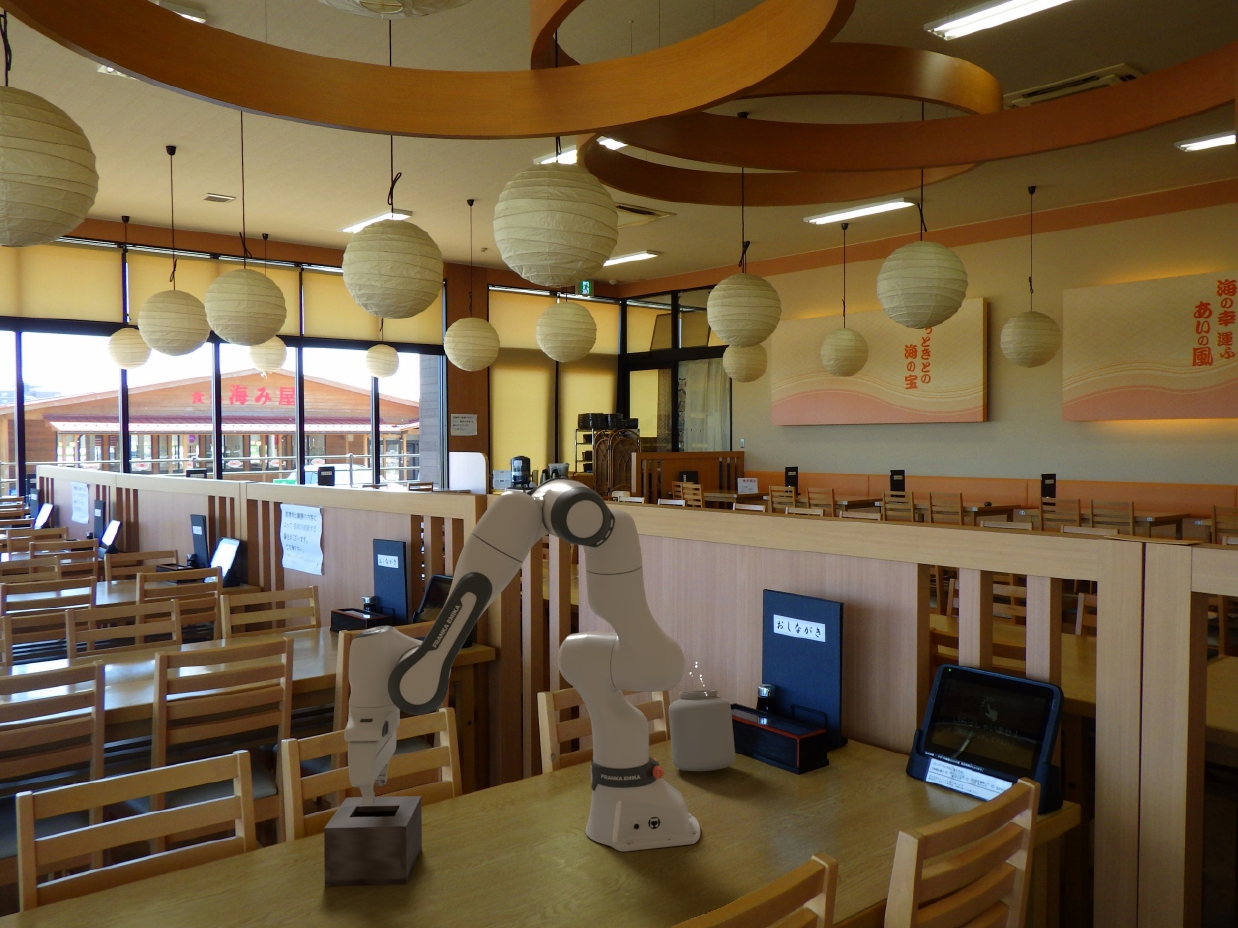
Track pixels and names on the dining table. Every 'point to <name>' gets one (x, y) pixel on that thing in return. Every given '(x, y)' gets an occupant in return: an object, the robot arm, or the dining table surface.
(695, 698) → the jar
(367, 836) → the tip box
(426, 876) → the dining table surface
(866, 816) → the dining table surface
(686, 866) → the dining table surface
